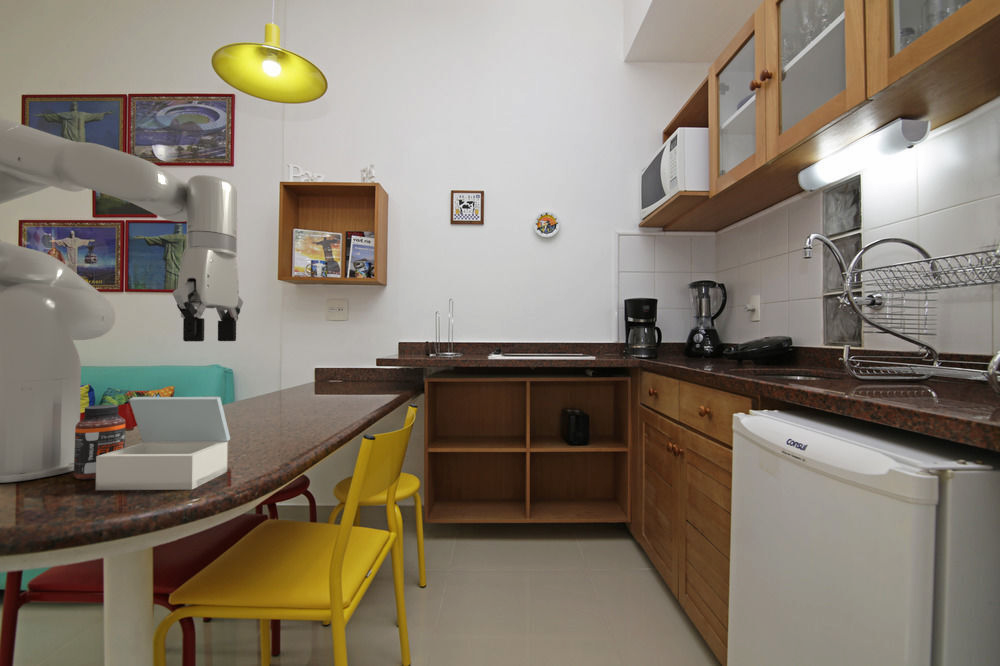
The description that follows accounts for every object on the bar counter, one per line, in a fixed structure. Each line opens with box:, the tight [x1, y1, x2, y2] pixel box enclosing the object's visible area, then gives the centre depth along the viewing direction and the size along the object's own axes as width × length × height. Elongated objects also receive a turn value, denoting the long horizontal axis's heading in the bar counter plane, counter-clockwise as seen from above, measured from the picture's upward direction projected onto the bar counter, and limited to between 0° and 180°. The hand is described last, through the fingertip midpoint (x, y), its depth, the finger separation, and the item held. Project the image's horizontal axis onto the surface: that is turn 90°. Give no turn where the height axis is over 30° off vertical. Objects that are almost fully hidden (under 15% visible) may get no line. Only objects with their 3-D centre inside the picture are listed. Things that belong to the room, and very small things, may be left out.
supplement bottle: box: [73, 404, 126, 480], centre depth 66 cm, size 6×6×11 cm
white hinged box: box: [95, 441, 229, 491], centre depth 64 cm, size 14×8×5 cm, turn 91°
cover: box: [128, 395, 231, 443], centre depth 67 cm, size 14×8×1 cm
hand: (211, 340), depth 74 cm, fingers open, 8 cm apart
